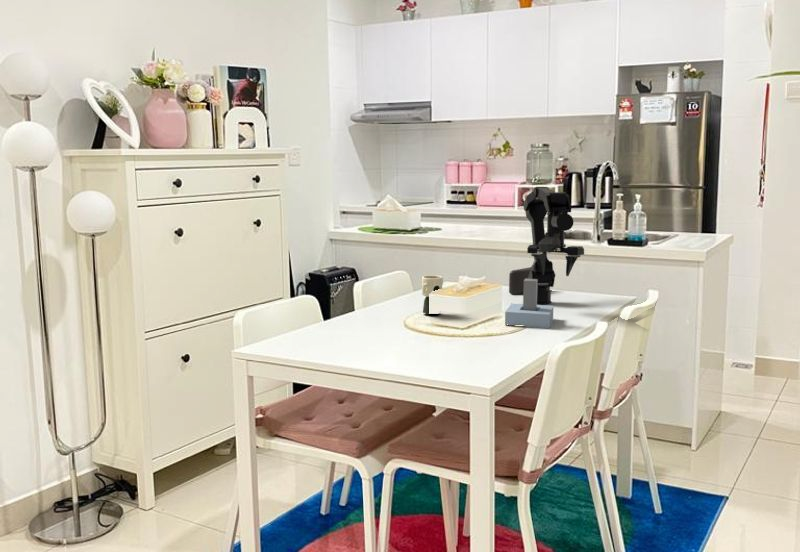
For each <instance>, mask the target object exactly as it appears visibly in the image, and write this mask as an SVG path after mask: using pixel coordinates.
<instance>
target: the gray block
mask: <svg viewBox="0 0 800 552" xmlns="http://www.w3.org/2000/svg"><path fill="white" fill-rule="evenodd" d="M537 283H538V279H525V280H524V291H523V294H522V295H523V297H522V299H523V300H522V304H523V310H527V311H537V305H538V304H537Z"/></svg>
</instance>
